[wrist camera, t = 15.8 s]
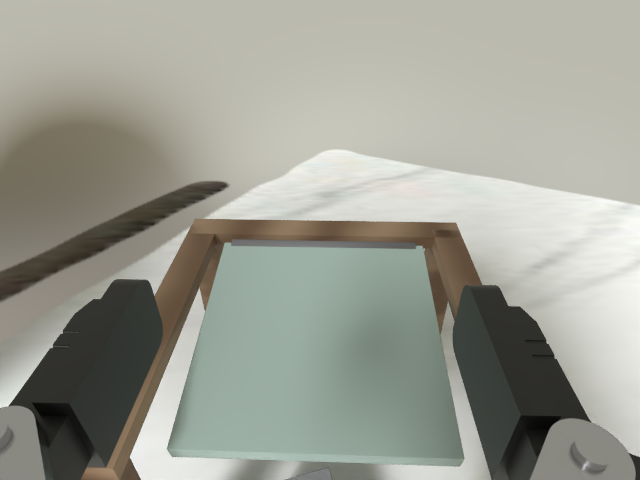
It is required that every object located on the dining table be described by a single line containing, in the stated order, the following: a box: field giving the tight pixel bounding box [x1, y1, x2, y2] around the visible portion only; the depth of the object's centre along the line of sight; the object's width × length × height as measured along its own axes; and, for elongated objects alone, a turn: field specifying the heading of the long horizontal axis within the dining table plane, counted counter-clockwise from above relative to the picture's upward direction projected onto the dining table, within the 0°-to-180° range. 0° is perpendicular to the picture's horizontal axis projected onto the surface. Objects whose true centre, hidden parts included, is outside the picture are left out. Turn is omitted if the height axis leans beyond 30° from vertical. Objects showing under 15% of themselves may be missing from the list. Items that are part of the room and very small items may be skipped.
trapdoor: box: [167, 239, 464, 466], centre depth 25 cm, size 14×15×1 cm
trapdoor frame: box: [81, 219, 482, 480], centre depth 28 cm, size 20×20×14 cm
